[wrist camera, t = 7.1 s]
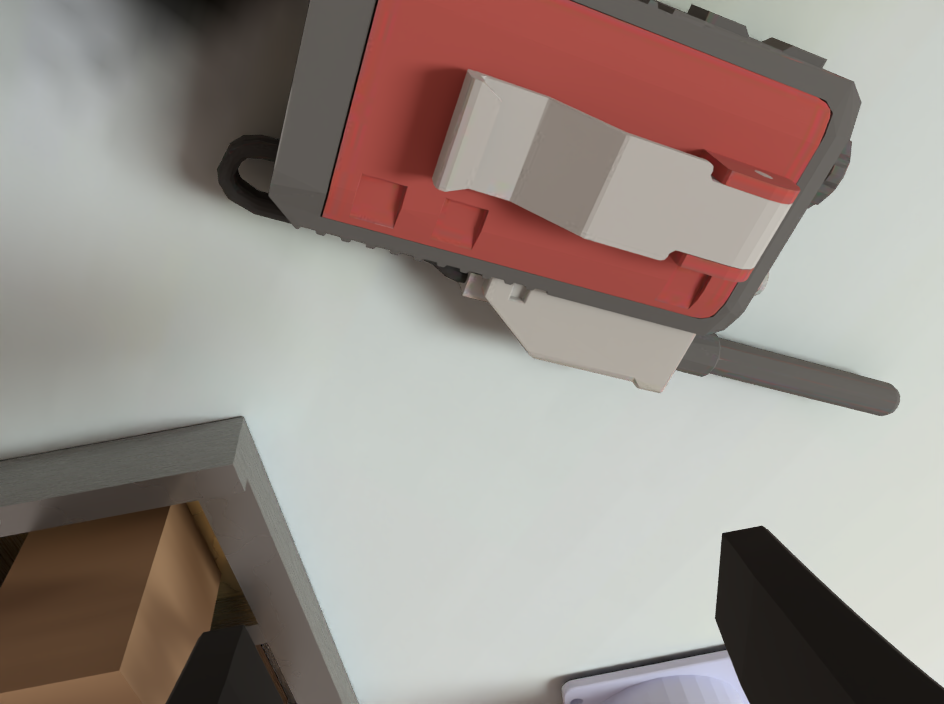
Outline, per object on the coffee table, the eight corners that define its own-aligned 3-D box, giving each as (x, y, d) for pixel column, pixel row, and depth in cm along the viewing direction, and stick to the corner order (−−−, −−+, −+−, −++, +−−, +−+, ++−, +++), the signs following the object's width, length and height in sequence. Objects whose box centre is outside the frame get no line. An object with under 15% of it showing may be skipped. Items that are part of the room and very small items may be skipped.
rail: (360, 708, 29) (359, 882, 24) (134, 752, 29) (85, 937, 24) (243, 416, 20) (204, 590, 16) (-77, 475, 20) (-222, 670, 15)
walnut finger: (227, 585, 24) (191, 773, 19) (105, 608, 24) (36, 803, 19) (177, 484, 21) (119, 671, 16) (40, 509, 21) (-60, 705, 16)
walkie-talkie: (211, 244, 18) (848, 403, 24) (172, 338, 14) (936, 499, 20) (284, -164, 14) (1039, 147, 19) (254, -177, 10) (1196, 210, 16)
